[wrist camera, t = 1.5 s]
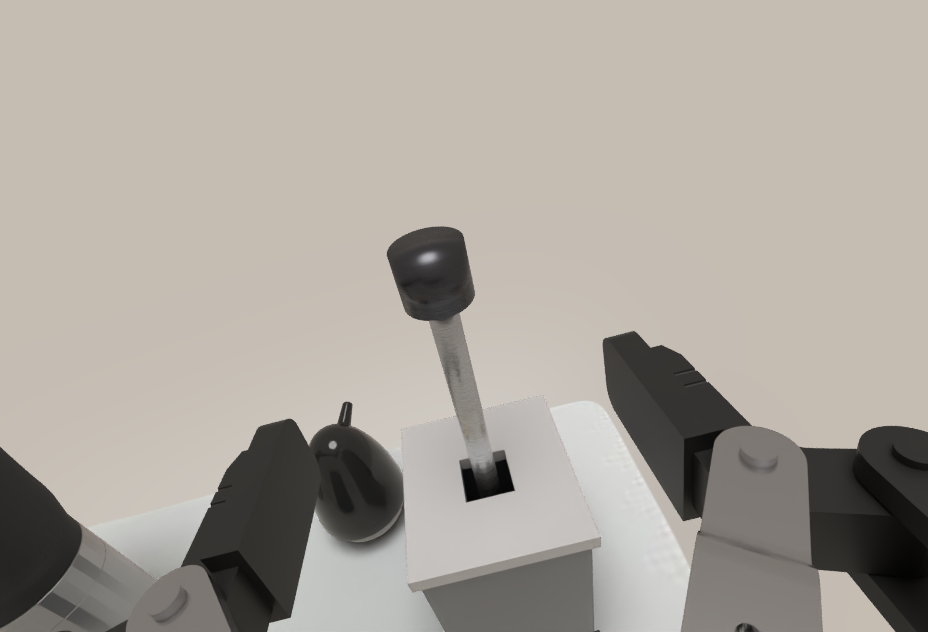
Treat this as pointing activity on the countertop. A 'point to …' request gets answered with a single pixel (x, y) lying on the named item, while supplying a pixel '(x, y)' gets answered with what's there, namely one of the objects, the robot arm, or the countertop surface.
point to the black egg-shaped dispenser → (355, 482)
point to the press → (499, 526)
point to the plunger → (447, 328)
